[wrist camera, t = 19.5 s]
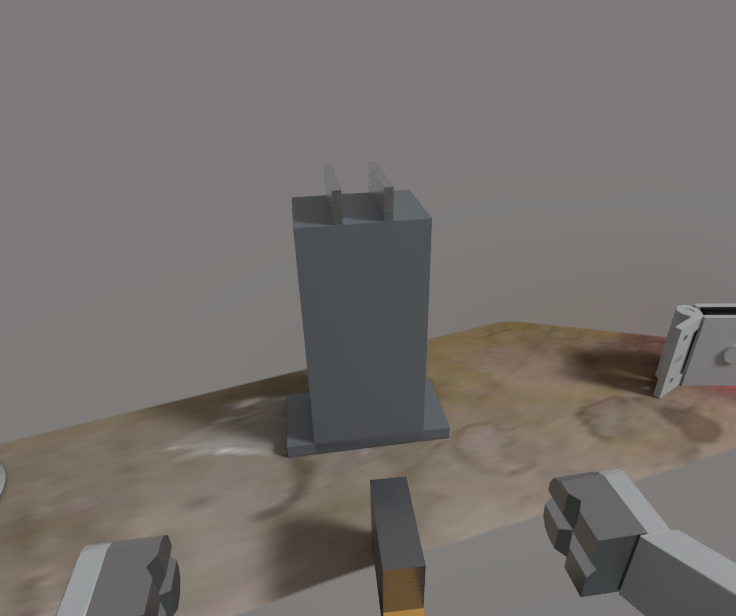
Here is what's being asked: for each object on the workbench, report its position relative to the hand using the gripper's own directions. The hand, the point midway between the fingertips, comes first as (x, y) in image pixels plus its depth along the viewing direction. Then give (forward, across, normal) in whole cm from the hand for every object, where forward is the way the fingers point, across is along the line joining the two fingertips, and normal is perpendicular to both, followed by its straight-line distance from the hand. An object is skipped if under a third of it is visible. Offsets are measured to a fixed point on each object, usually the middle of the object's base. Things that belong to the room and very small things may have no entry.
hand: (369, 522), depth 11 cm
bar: (+13, +4, -32) cm, 34 cm away
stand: (+38, +5, -32) cm, 50 cm away
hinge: (+38, +48, -32) cm, 68 cm away
